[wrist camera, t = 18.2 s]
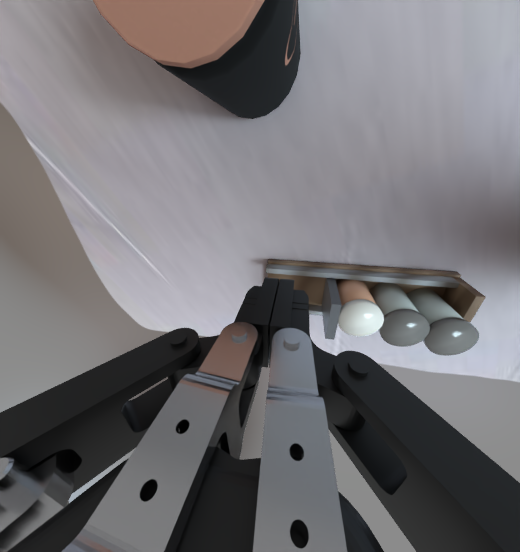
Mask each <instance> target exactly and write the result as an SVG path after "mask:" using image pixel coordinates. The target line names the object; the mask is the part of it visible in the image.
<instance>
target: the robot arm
mask: <svg viewBox="0 0 520 552" xmlns="http://www.w3.org/2000/svg"><path fill="white" fill-rule="evenodd" d="M268 363H269V367H270V373H269V385H268V391H267V398H266V408H265V420H264V431H263V442H262V453H261V458H256V459H247V460H239V459H240V454H241V450H242V443H243V436H244V432H245V428H246V425H247V421H248V418H249V414H250V411H251V408H252V404H253V401H254V397H255V394H256V390H257V387H258V384H259V377H260V372H261V368H262V367H268ZM166 377H168V379H167V380H165V381H164V382H162V383H160V384H159V385H157V386H156V387H154V388H152V389H151V390H149V391H147V392H146V393H144V394H142V395H141V396H139V397H137V398H135V399H133V400H130V401H128V400H129V399H131V398H132V397H134V396H136V395H137V394H139V393H141V392H142V391H144V390H146V389H148V388H149V387H151V386H153V385H154V384H156V383H158V382H159V381H161V380H162V379H164V378H166ZM329 430H330V431H331V433H332V434H333V436H334V437H335V438H336V440H337V441H338V443H339V444H340V445H341V447H342V448H343V449H344V451H345V452H346V454H347V455H348V456H349V458H350V459H351V461H352V462H353V464H354V465H355V466H356V468H357V469H358V471H359V472H360V473H361V475H362V476H363V478H364V479H365V480H366V482H367V483H368V484H369V486H370V487H371V489H372V490H373V492H374V493H375V494H376V496H377V497H378V498H379V500H380V501H381V503H382V504H383V505H384V507H385V508H386V510H387V511H388V512H389V514H390V515H391V517H392V518H393V519H394V521H395V522H396V524H397V525H398V526H399V528H400V529H401V531H402V532H403V533H404V535H405V536H406V538H407V539H408V540H409V542H410V543H411V544H412V546H413V547H414V549H415V550H416V552H520V483H519V482H518V481H516V480H515V479H514V478H513V477H512V476H511V475H509V474H508V473H507V472H506V471H505V470H503V469H502V468H501V467H500V466H499V465H498V464H496V463H495V462H494V461H493V460H491V459H490V458H489V457H488V456H487V455H485V454H484V453H483V452H482V451H481V450H480V449H478V448H477V447H476V446H475V445H474V444H472V443H471V442H470V441H469V440H468V439H467V438H465V437H464V436H463V435H462V434H460V433H459V432H458V431H457V430H456V429H455V428H453V427H452V426H451V425H450V424H448V423H447V422H446V421H445V420H444V419H443V418H442V417H440V416H439V415H438V414H437V413H436V412H434V411H433V410H432V409H431V408H430V407H428V406H427V405H426V404H425V403H424V402H422V401H421V400H420V399H419V398H418V397H416V396H415V395H414V394H413V393H412V392H410V391H409V390H408V389H407V388H406V387H405V386H403V385H402V384H401V383H400V382H398V381H397V380H396V379H395V378H394V377H392V376H391V375H390V374H389V373H388V372H387V371H386V370H384V369H383V368H382V367H381V366H380V365H378V364H377V363H376V362H375V361H374V360H372V359H371V358H370V357H368V356H366V355H364V354H362V353H359V352H356V351H344V352H341V353H340V354H338V355H337V356H335V355H332V354H330V353H327V352H325V351H323V350H321V349H320V348H318V347H317V346H316V345H315V344H314V343H313V342H312V340H311V338H310V334H309V297H308V295H307V294H306V292H305V291H304V290H294V280H290V279H280V282H279V279H278V278H266V277H265V279H264V282H263V285H262V287H260V286H254V287H252V288H251V289H250V290H248V292H247V294H246V296H245V299H244V301H243V304H242V305H241V308H240V310H239V312H238V314H237V317H236V319H235V321H234V323H232V324H230V325H228V326H226V327H225V328H224V329H223V330H222V332H221V334H220V335H217V336H212V337H204V338H199V336H198V334H197V332H196V331H195V330H193V329H190V328H180V329H176V330H173V331H171V332H169V333H167V334H165V335H162V336H160V337H158V338H156V339H154V340H152V341H150V342H148V343H146V344H144V345H142V346H139V347H138V348H135V349H133V350H131V351H129V352H127V353H125V354H123V355H120V356H119V357H116V358H114V359H112V360H110V361H108V362H106V363H104V364H102V365H100V366H97V367H95V368H93V369H92V370H89V371H87V372H85V373H83V374H81V375H79V376H77V377H75V378H72V379H70V380H68V381H66V382H64V383H62V384H60V385H58V386H55V387H53V388H51V389H49V390H47V391H45V392H43V393H41V394H39V395H37V396H35V397H33V398H31V399H28V400H26V401H24V402H22V403H20V404H18V405H16V406H14V407H11V408H9V409H7V410H5V411H3V412H1V413H0V552H384V551H383V549H382V548H381V546H380V544H379V543H378V541H377V539H376V538H375V536H374V535H373V533H372V531H371V530H370V528H369V527H368V525H367V524H366V522H365V521H364V520H363V518H362V517H361V516H360V514H359V513H358V511H357V510H356V509H355V508H354V507H353V506H352V505H351V503H350V502H349V501H348V500H347V499H346V498H345V497H344V496H343V495H342V494H341V493H340V492H338V488H337V481H336V475H335V468H334V462H333V455H332V449H331V443H330V436H329ZM134 448H136V449H135V450H134V452H133V453H132V455H131V456H130V458H129V459H127V460H125V461H124V462H122V463H121V464H120V465H118V466H117V467H116V468H114V469H113V470H112V471H111V472H109V473H108V474H107V475H105V476H104V477H103V478H102V479H100V480H99V481H98V482H96V483H95V484H94V485H92V486H91V487H90V488H89V489H87V490H86V491H85V492H83V493H82V494H81V495H79V496H78V497H77V498H76V499H74V500H73V501H72V502H71V503H69V501H68V500H69V498H70V496H71V494H72V493H73V492H75V491H76V490H77V489H79V488H80V487H82V486H83V485H85V484H86V483H87V482H89V481H90V480H92V479H93V478H94V477H96V476H97V475H98V474H100V473H101V472H103V471H104V470H105V469H107V468H108V467H109V466H111V465H112V464H114V463H115V462H116V461H118V460H119V459H120V458H122V457H123V456H125V455H126V454H127V453H129V452H130V451H131V450H133V449H134Z"/></svg>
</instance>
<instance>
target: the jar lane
mask: <svg viewBox="0 0 520 552" xmlns="http://www.w3.org/2000/svg"><path fill="white" fill-rule="evenodd" d="M266 273H268V278H278V279H279V282H280V279H290V280H294V290H304V291H305V292H306V294H307V295H308V297H309V314H311V315H320V316H323V314H322V299H323V293H324V287H325V281H326V278H335V280H337V279H348V280H361V281H364V282H365V283H366V285H367V287H368V289H369V290H370V289H371V288H372V287H373V286H375V285H377V284H379V283H383V282H386V283H395V284H397V285H399V286H400V287H401V288H402V289H403V291H404V292H405V294H408V293H409V292H411V291H413V290H416V289H421V288H426V289H431V290H433V291H435V292H436V293H437V294H438V295H439V296H440V297H441V298H442V299H443V300H444V301H445V302H446V303H447V304H448V305H450V306H451V307H452V308H453V309H454V310H455V311H456V312H457V313H458V314H459V315H460V316H461V317H462V318H463V319H465V320H467V321H468V322H471V320H472V318H473V317H474V315H475V314H476V312H477V310H478V309H479V307H480V306H481V304H482V302H483V301H484V299H485V296H484V295H482V294H481V293H480V292H478V291H477V290H476V289H474V288H473V287H472V286H470V285H469V284H468V283H466V282H465V281H464V280H462V279H461V278H460V276H461V275H460V274H459V273H458V272H450V271H436V270H421V269H407V268H392V267H377V266H363V265H348V264H334V263H319V262H304V261H290V260H275V259H269V260H268V265H267V267H266Z"/></svg>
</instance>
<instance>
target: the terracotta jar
mask: <svg viewBox="0 0 520 552" xmlns="http://www.w3.org/2000/svg"><path fill="white" fill-rule="evenodd" d="M336 284H337V288H338V292H339V296H340V300H341V304H342V306H341V310H340V315H339V319H338V324H339V327H340V328H341V330H342V331H343V332H345V333H346V334H349V335H351V336H357V337H362V336H368V335H371V334H373V333H375V332H377V331H378V330H379V329H380V328H381V327H382V325H383V322H384V316H383V313H382V311H381V310H380V308H379V306H378V305H377V304H376V303H375V301H374V299H373V297H372V295H371V293H370V291H369V289H368V287H367V285H366V283H365V282H364V281H361V280H348V279H337V280H336Z"/></svg>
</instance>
